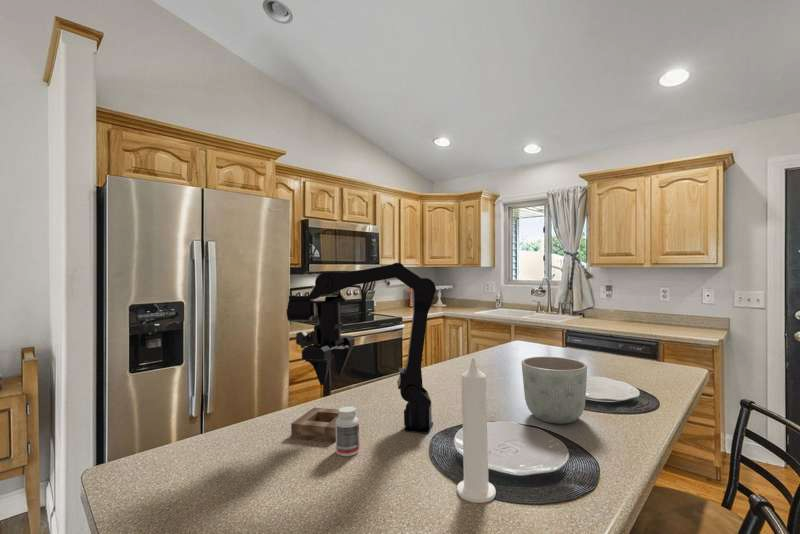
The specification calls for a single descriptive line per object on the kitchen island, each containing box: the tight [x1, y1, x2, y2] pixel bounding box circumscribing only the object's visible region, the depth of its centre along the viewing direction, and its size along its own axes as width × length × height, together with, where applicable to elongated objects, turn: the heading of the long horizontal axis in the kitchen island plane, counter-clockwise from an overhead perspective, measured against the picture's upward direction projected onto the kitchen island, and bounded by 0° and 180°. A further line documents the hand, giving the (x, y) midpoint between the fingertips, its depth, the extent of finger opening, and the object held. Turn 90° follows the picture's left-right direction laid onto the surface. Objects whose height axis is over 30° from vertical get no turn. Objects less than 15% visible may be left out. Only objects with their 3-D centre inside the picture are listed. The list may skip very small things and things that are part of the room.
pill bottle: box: [335, 406, 360, 457], centre depth 91 cm, size 5×5×10 cm
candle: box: [456, 357, 497, 504], centre depth 73 cm, size 7×7×25 cm
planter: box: [520, 355, 588, 425], centre depth 109 cm, size 17×17×15 cm
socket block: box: [290, 407, 340, 443], centre depth 104 cm, size 12×12×4 cm
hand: (331, 379), depth 103 cm, fingers open, 9 cm apart
